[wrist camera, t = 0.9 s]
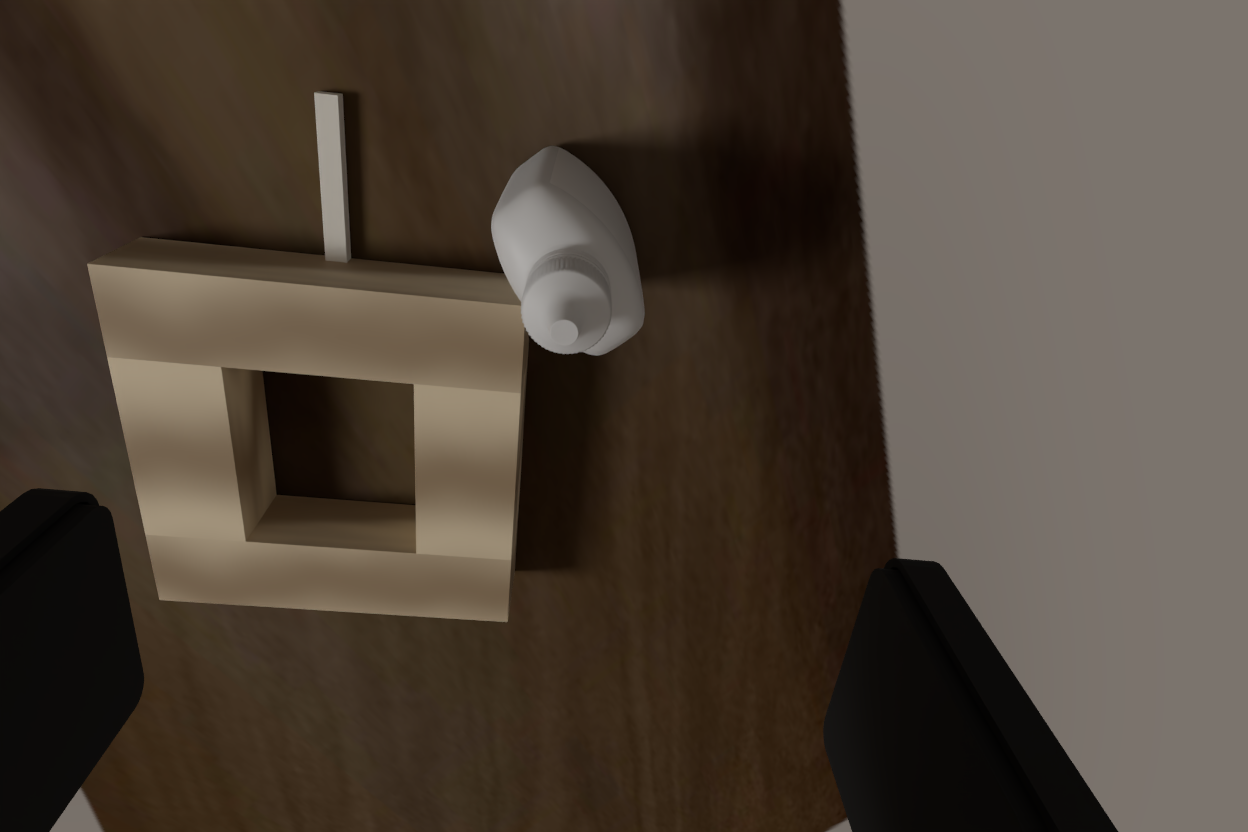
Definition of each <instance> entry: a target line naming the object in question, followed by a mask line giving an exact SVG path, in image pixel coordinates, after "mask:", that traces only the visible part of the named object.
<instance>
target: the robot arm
mask: <svg viewBox="0 0 1248 832" xmlns="http://www.w3.org/2000/svg"><path fill="white" fill-rule="evenodd" d="M143 685H144V673H143V668H142V663H141V658H140V653H139V648H138V643H137V638H136V633H135V628H134V623H133V618H132V613H131V608H130V603H129V598H128V593H127V588H126V583H125V578H124V573H123V568H122V563H121V558H120V553H119V548H118V543H117V538H116V533H115V528H114V523H113V518H112V515H111V512H110V511H109V509H108V508H106V507H104V506H99V504H98V501H97V500H96V498H95V497H94V496H93V495H92V494H89V493H87V492H77V491H65V490H53V489H41V488H38V489H31V490H29V491H27V492H25V493H23V494H22V495H21V496H20V497H18V498H17V499H16V500H14V501H13V502H12V503H11V504H9V505H8V506H7V507H5V508H4V509H3V510H2V511H0V832H49V831H50V830H51V828H52V827H53V826H54V824H55V823H56V821H57V820H58V818H59V817H60V815H61V814H62V813H63V811H64V810H65V808H66V807H67V805H68V804H69V802H70V801H71V800H72V798H73V797H74V795H75V794H76V793H77V791H78V790H79V788H80V787H81V785H82V784H83V782H84V781H85V780H86V778H87V777H88V775H89V774H90V772H91V771H92V770H93V768H94V767H95V765H96V764H97V762H98V761H99V759H100V758H101V757H102V755H103V754H104V752H105V751H106V749H107V748H108V747H109V745H110V744H111V742H112V741H113V739H114V738H115V737H116V735H117V734H118V732H119V731H120V729H121V728H122V726H123V725H124V724H125V722H126V721H127V719H128V718H129V716H130V715H131V714H132V712H133V711H134V709H135V707H136V706H137V704H138V702H139V700H140V697H141V694H142V690H143ZM823 732H824V744H825V749H826V752H827V755H828V758H829V762H830V765H831V768H832V771H833V774H834V777H835V780H836V783H837V786H838V789H839V792H840V795H841V799H842V802H843V805H844V808H845V811H846V814H847V817H848V820H849V823H850V826H851V829H852V832H1118V831H1117V829H1116V828H1115V826H1114V825H1113V823H1112V822H1111V820H1110V819H1109V817H1108V816H1107V814H1106V813H1105V811H1104V810H1103V808H1102V807H1101V805H1100V803H1099V802H1098V800H1097V799H1096V798H1095V796H1094V794H1093V793H1092V792H1091V790H1090V788H1089V787H1088V786H1087V784H1086V782H1085V781H1084V779H1083V778H1082V776H1081V775H1080V773H1079V772H1078V770H1077V769H1076V767H1075V766H1074V764H1073V763H1072V761H1071V760H1070V758H1069V757H1068V755H1067V754H1066V752H1065V751H1064V749H1063V748H1062V746H1061V745H1060V743H1059V742H1058V740H1057V739H1056V737H1055V736H1054V734H1053V733H1052V731H1051V730H1050V728H1049V726H1048V725H1047V723H1046V722H1045V720H1044V719H1043V717H1042V716H1041V715H1040V713H1039V711H1038V710H1037V708H1036V707H1035V705H1034V704H1033V702H1032V701H1031V699H1030V698H1029V696H1028V695H1027V693H1026V692H1025V690H1024V689H1023V687H1022V686H1021V684H1020V683H1019V681H1018V680H1017V678H1016V677H1015V675H1014V674H1013V672H1012V671H1011V669H1010V668H1009V666H1008V665H1007V663H1006V662H1005V660H1004V659H1003V657H1002V656H1001V654H1000V653H999V651H998V650H997V648H996V647H995V645H994V643H993V642H992V640H991V639H990V637H989V636H988V635H987V633H986V631H985V630H984V628H983V627H982V626H981V624H980V622H979V621H978V619H977V618H976V616H975V615H974V613H973V612H972V610H971V609H970V607H969V606H968V604H967V603H966V601H965V600H964V598H963V597H962V595H961V594H960V592H959V591H958V589H957V588H956V586H955V585H954V583H953V582H952V580H951V579H950V577H949V575H948V574H947V572H946V571H945V570H944V568H943V567H942V566H941V565H940V564H939V563H937V562H934V561H922V560H910V559H897V558H893V559H891V560H889V561H888V562H887V563H886V565H885V567H884V569H880V568H878V569H875V570H874V571H873V572H872V574H871V576H870V579H869V582H868V585H867V588H866V591H865V594H864V598H863V601H862V604H861V607H860V610H859V613H858V616H857V619H856V623H855V626H854V629H853V632H852V635H851V638H850V641H849V645H848V648H847V651H846V654H845V657H844V660H843V663H842V666H841V670H840V673H839V676H838V679H837V682H836V685H835V688H834V692H833V695H832V698H831V701H830V704H829V707H828V710H827V713H826V717H825V721H824V729H823Z"/></svg>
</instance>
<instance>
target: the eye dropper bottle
mask: <svg viewBox="0 0 1248 832" xmlns="http://www.w3.org/2000/svg"><path fill="white" fill-rule="evenodd" d="M491 230H492V236H493V241H494V245H495V248H496V252H497V255H498V258H499V261H500V263H501V266H502V268H503V271H504V273H505V275H506V277H507V279H508V281H509V283H510V285H511V287H512V289H513V290H514V292H515V294H516V295H517V297H518V298H519V300H520V301H521V308H520V309H521V314H522V316H521V318H522V319H523V321H522V323H524V327H525V328H526V331H527V332H529V333H528V335H530V336H531V338H532V339H534V342H537V343H538V345H541V347H544V348H545V349H546V350H549V351H553V352H554V353H556V352H557V353H558V354H560V353H562V354H563V355H564V354H570V353H571V354H574V353H578V352H584V353H587V354H589V355H596V356H599V355H602V354H606V353H608V352H610V351H611V350H613V349H615V348H616V347H618V346H619V345H621V344H623V343H624V342H625V341H627V340H628V339H630V338H631V337H632V336H634V335H635V334H636V333H637V332H638V331H639V330H640V328H641V327H642V326H643V321H644V316H645V311H644V301H643V293H642V287H641V280H640V274H639V268H638V262H637V256H636V250H635V245H634V241H633V237H632V234H631V231H630V228H629V225H628V223H627V220H626V218H625V216H624V214H623V211H622V209H621V208H620V206H619V204H618V202H617V200H616V199H615V197H614V196H613V194H612V193H611V191H610V190H609V189H608V187H607V186H606V185H605V184H604V182H603V181H602V180H601V179H600V178H599V177H598V176H597V175H596V174H595V173H594V172H593V171H592V170H591V169H590V168H589V167H588V166H587V165H585V164H584V163H583V162H582V161H581V160H579V159H578V158H577V157H575V156H574V155H572V154H571V153H569V152H568V151H566V150H564V149H562V148H560V147H556V146H549V147H546V148H544V149H542V150H541V151H539V152H538V153H537V154H535V155H534V156H533V157H531V158H530V159H529V160H527V161H526V162H525V163H523V164H522V165H521V166H520V167H518V168H517V169H516V170H515V172H514V173H513V175H512V176H511V178H510V180H509V182H508V184H507V186H506V188H505V189H504V191H503V193H502V195H501V198H500V200H499V202H498V204H497V206H496V208H495V210H494V213H493V215H492V224H491Z"/></svg>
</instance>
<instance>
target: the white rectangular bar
mask: <svg viewBox="0 0 1248 832" xmlns="http://www.w3.org/2000/svg"><path fill="white" fill-rule="evenodd" d="M314 97H315V112H316V127H317V142H318V157H319V171H320V186H321V201H322V216H323V231H324V245H325V260H326V261H335V262H345V263H347V262H348V261H349V260H350V259H351V244H350V225H349V206H348V186H347V167H346V148H345V128H344V109H343V94H340V93H331V92H323V91H318V92H315V93H314Z"/></svg>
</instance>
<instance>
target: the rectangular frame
mask: <svg viewBox="0 0 1248 832" xmlns="http://www.w3.org/2000/svg"><path fill="white" fill-rule="evenodd" d="M87 265H88V270H89V275H90V279H91V284H92V288H93V293H94V298H95V302H96V307H97V312H98V316H99V321H100V326H101V330H102V335H103V340H104V344H105V349H106V354H107V358H108V363H109V367H110V372H111V377H112V381H113V386H114V391H115V395H116V400H117V405H118V409H119V414H120V419H121V423H122V428H123V432H124V437H125V442H126V446H127V451H128V456H129V460H130V465H131V470H132V474H133V479H134V484H135V488H136V493H137V498H138V502H139V507H140V511H141V516H142V521H143V525H144V530H145V535H146V539H147V544H148V549H149V553H150V558H151V563H152V567H153V572H154V576H155V581H156V586H157V590H158V595H159V600H168V601H184V602H199V603H215V604H231V605H247V606H262V607H278V608H294V609H310V610H326V611H341V612H357V613H373V614H389V615H404V616H420V617H436V618H452V619H468V620H483V621H499V622H508V615H509V608H510V601H511V594H512V588H513V581H514V574H515V560H516V544H517V527H518V511H519V495H520V478H521V462H522V446H523V429H524V413H525V397H526V380H527V364H528V348H529V335H528V333H529V332H527V331H526V328H525V327H524V323H522V321H523V319H522V318H521V316H522V314H521V309H520V308H521V301H520V300H519V298H518V297H517V295H516V294H515V292H514V290H513V289H512V287H511V285H510V283H509V281H508V279H507V277H506V275H505V274H504V273H494V272H484V271H474V270H464V269H454V268H444V267H434V266H424V265H414V264H404V263H394V262H384V261H374V260H364V259H354V258H351V259H350V260H349V261H348V262H347V263H345V262H335V261H326V260H325V256H324V255H314V254H304V253H294V252H284V251H274V250H264V249H254V248H244V247H234V246H224V245H214V244H204V243H195V242H185V241H175V240H165V239H155V238H145V237H140V238H138V239H136V240H134V241H132V242H130V243H128V244H126V245H124V246H122V247H120V248H118V249H116V250H114V251H112V252H110V253H108V254H106V255H104V256H102V257H100V258H98V259H96V260H94V261H92V262H90V263H88V264H87ZM263 371H272V372H283V373H294V374H306V375H317V376H329V377H340V378H351V379H363V380H374V381H386V382H397V383H408V384H414V426H415V497H416V505H406V504H393V503H379V502H366V501H353V500H339V499H326V498H313V497H299V496H286V495H277V494H276V485H275V476H274V467H273V459H272V450H271V441H270V432H269V424H268V415H267V406H266V397H265V389H264V380H263Z"/></svg>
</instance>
